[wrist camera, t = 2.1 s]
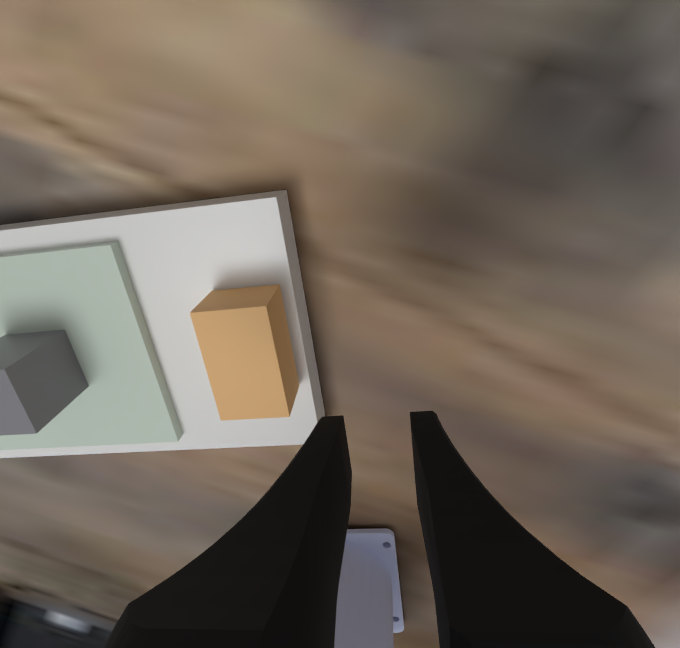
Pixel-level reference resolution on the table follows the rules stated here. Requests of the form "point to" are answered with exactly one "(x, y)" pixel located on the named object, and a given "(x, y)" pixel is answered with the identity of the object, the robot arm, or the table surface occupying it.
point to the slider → (247, 352)
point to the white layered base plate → (196, 302)
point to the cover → (77, 353)
